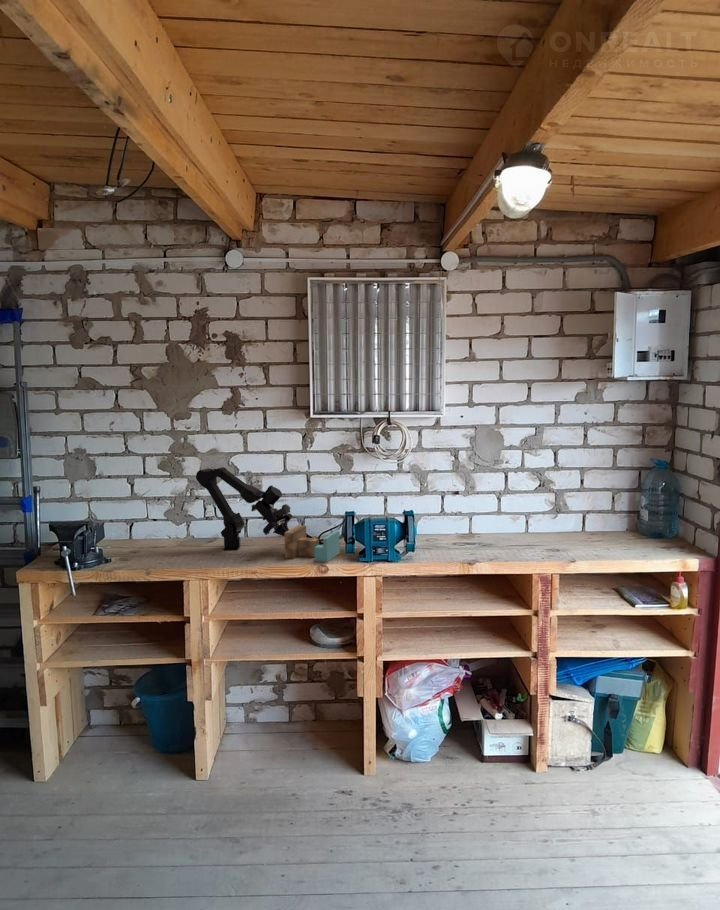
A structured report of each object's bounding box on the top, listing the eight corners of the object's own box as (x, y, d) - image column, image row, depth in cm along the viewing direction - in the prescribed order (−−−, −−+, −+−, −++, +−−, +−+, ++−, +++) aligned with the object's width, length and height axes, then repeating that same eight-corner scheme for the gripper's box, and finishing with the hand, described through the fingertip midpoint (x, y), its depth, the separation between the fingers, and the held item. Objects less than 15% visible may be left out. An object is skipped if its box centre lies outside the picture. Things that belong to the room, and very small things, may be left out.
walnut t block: (285, 557, 270) (284, 532, 268) (298, 549, 282) (297, 525, 280) (310, 560, 265) (310, 534, 264) (323, 551, 277) (322, 527, 276)
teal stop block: (314, 561, 264) (314, 537, 263) (328, 551, 277) (327, 529, 276) (327, 562, 262) (326, 538, 261) (339, 552, 276) (339, 530, 274)
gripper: (268, 504, 266) (293, 531, 263) (288, 495, 283) (311, 521, 281) (252, 521, 269) (276, 548, 267) (273, 511, 287) (296, 537, 284)
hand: (291, 538), depth 275 cm, fingers closed, pressing on walnut t block
